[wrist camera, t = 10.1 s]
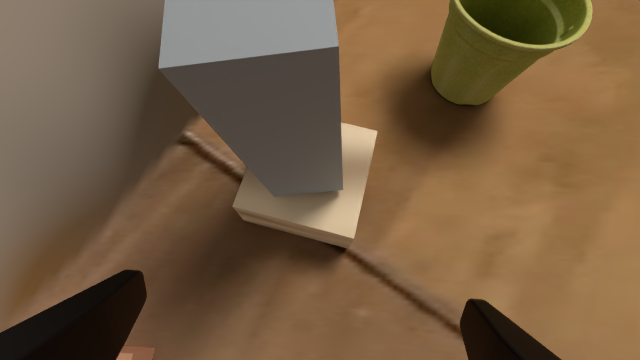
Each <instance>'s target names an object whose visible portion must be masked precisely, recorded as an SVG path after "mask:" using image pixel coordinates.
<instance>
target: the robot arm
mask: <svg viewBox="0 0 640 360" xmlns="http://www.w3.org/2000/svg"><path fill="white" fill-rule="evenodd" d="M146 297H147V292H146V287H145V282H144V276H143V273H142V272H141V271H139V270H123V271H121V272H119V273H117V274H115V275H113V276H111V277H110V278H108V279H106V280H104V281H102V282H100V283H98V284H96V285H94V286H92V287H90V288H88V289H86V290H84V291H82V292H80V293H78V294H76V295H74V296H72V297H70V298H68V299H66V300H64V301H62V302H60V303H58V304H56V305H54V306H52V307H50V308H48V309H46V310H44V311H42V312H40V313H38V314H36V315H34V316H32V317H30V318H29V319H27V320H25V321H23V322H21V323H19V324H17V325H15V326H13V327H11V328H9V329H7V330H5V331H3V332H1V333H0V360H116V359H117V357H118V356H119V354H120V352H121V350H122V348H123V346H124V344H125V342H126V340H127V338H128V336H129V334H130V332H131V330H132V328H133V326H134V324H135V322H136V320H137V318H138V316H139V314H140V312H141V310H142V308H143V306H144V303H145V301H146ZM460 329H461V333H462V337H463V341H464V345H465V348H466V352H467V356H468V360H561V359H560V358H559V357H557V356H556V355H555V354H554V353H552V352H551V351H550V350H548V349H547V348H546V347H545V346H543V345H542V344H541V343H539V342H538V341H537V340H536V339H534V338H533V337H532V336H530V335H529V334H528V333H527V332H525V331H524V330H523V329H521V328H520V327H519V326H518V325H516V324H515V323H514V322H512V321H511V320H510V319H509V318H507V317H506V316H505V315H503V314H502V313H501V312H500V311H498V310H497V309H496V308H494V307H493V306H492V305H491V304H489V303H488V302H487V301H485V300H482V299H469V300H468V301H467V302H466V305H465V308H464V311H463V314H462V317H461V320H460Z"/></svg>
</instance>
